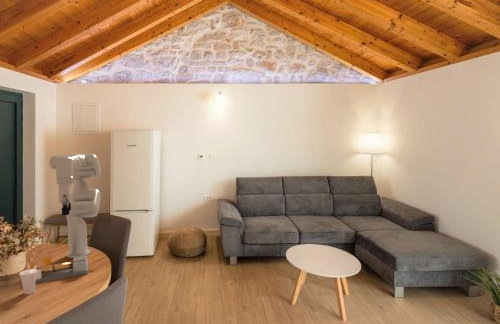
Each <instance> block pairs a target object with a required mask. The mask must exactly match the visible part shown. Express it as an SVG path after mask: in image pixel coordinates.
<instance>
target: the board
mask: <svg viewBox="0 0 500 324" xmlns="http://www.w3.org/2000/svg"><path fill="white" fill-rule="evenodd" d="M88 269H89V265H87V271H83V272H77V273H73V269H69V270H63V271H57V272H51V273H45V274H43V276H42V278H41V279H37V280H35V284H36V283H41V282H48V281H54V280H58V279H64V278H71V277H76V276H77V277H78V276H82V275H88Z"/></svg>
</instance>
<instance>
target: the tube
mask: <svg viewBox="0 0 500 324" xmlns="http://www.w3.org/2000/svg"><path fill="white" fill-rule="evenodd" d="M69 269H73V261H69V262H68V261H67V262H62V263H56V264H55V263H54V264H52V265H48V266H41V267H37V270H41V274H45V273H51V272H57V271H63V270H69Z"/></svg>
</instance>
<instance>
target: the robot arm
mask: <svg viewBox="0 0 500 324" xmlns="http://www.w3.org/2000/svg"><path fill="white" fill-rule="evenodd" d="M48 162H49V163H48V164H49V167H50V168H51V169H52V170H55V175H56V178H55V179H56V181H55V182H56V185H58V204H61V216H66V222H67V235H68V237H67V239H68V241H67V242H68V252H66V254H65V255H66V256H65V257H66V258H68V259H73V258H74V257H79V256H86V255H87V256H88V255H90V254H91V249H89V248H88V234H87V223H86V221H85V220H84V219H85V218H94V217H97V216H98V214H99V210H100V205H101V199H102V198H101V197H102V195H101V191H100V190H99V189H97V188H90V185H89V183H88V182H87V181H86V180H87V179H88V180H89V179H90V180H91V179H98V178H99V179H100V178H101V176H102V169H101V166H100V165H101V163H100V161H99V158H98V155H96V154H94V153H71V154H63V155H61V154H58V155H57V154H56V155H52V156H51V157H50V158H49V161H48ZM72 184H73V189H72ZM72 190H73V191H72Z"/></svg>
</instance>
